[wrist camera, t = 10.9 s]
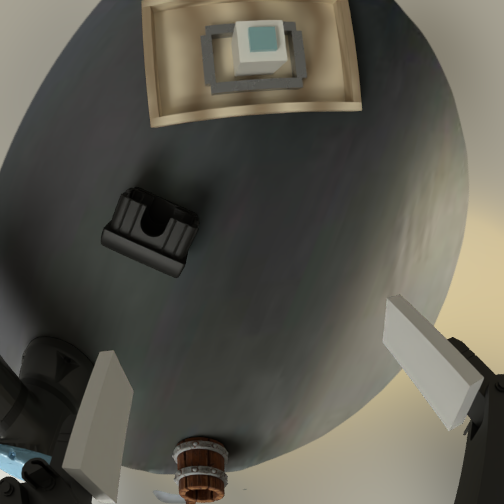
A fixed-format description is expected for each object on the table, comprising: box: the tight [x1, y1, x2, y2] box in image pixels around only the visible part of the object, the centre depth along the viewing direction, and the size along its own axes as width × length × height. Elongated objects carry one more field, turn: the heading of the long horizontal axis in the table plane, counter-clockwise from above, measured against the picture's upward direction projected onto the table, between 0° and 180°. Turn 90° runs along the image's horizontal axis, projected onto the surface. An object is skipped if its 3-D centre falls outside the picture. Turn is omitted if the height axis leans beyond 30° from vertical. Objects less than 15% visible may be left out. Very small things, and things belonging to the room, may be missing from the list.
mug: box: [172, 437, 228, 504], centre depth 51 cm, size 12×14×15 cm
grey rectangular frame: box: [200, 22, 307, 96], centre depth 31 cm, size 11×8×2 cm
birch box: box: [142, 0, 362, 128], centre depth 31 cm, size 24×16×4 cm, turn 95°
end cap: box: [101, 187, 199, 278], centre depth 36 cm, size 10×7×7 cm
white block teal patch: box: [231, 20, 287, 77], centre depth 28 cm, size 4×4×9 cm
